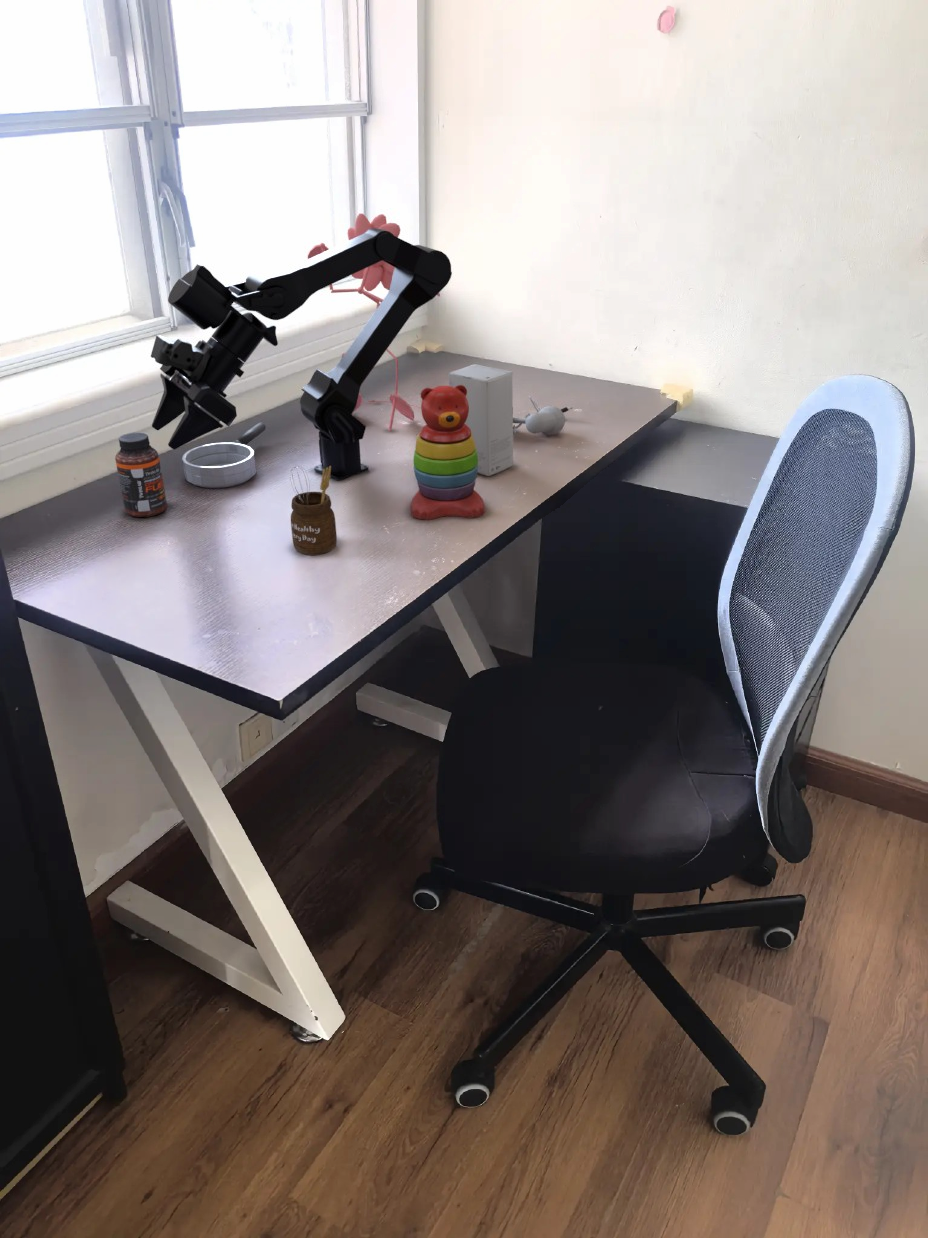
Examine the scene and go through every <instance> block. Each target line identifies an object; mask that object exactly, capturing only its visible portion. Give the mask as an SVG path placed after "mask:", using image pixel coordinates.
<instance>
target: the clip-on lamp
mask: <svg viewBox="0 0 928 1238" xmlns="http://www.w3.org/2000/svg"><path fill="white" fill-rule="evenodd" d="M528 397H529V399H530V402H531V403H532V405H533V407H534V409H535V411H536V413H531V414H530V413H529V412H527V414H526V415H525V416H524V417H513V436H516V434H517V429H519V428H520V427H521V426H522V425H523V424H524V425H525V428H526V430H527V431H528V433H530V434H535V435H536V434H543V435H545V436H549V437H550V436H555V435H557V434H559V433H560V432H561V431H562V430H563V429H564V427H565V424H566V416H565V414H564V413H566V412H568V411H569V410H572V409H573V406H572V407H569V406H565V407H563V408H559V407H557V406H554V405H546V406H544V407H542V408H540V407H539V405H538V404H537V402H536V401H535V400H534V398H533V397H532V396H531V395H528ZM515 424H517V425H515Z"/></svg>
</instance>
